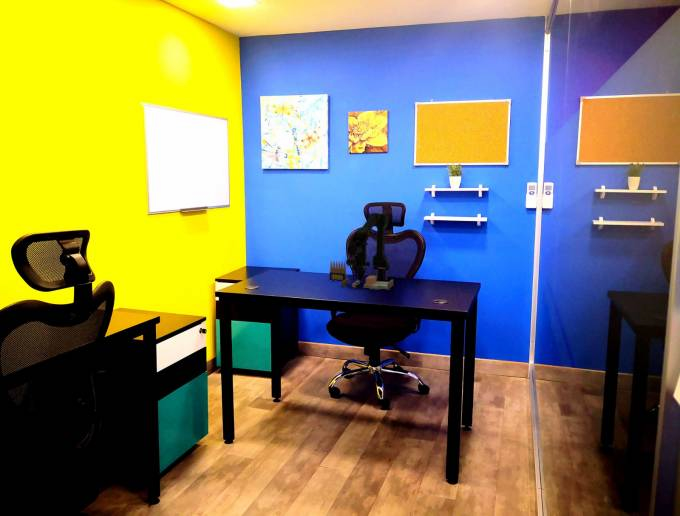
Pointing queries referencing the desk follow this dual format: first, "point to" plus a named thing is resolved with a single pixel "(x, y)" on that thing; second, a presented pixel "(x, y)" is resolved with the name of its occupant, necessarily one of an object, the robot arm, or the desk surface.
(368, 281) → the block
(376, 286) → the trap board
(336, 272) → the ammunition clip
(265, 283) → the desk surface
